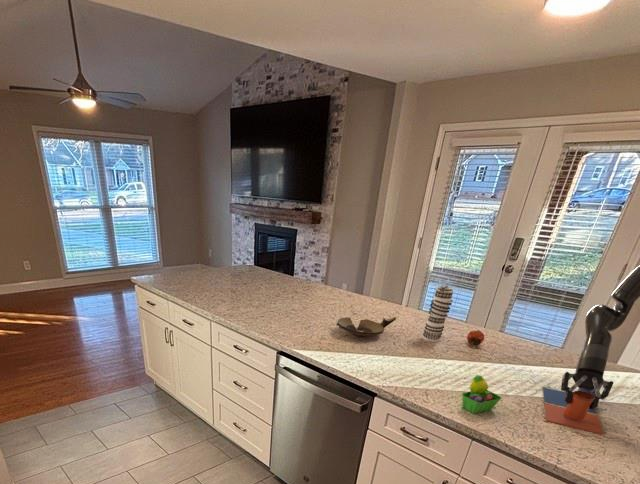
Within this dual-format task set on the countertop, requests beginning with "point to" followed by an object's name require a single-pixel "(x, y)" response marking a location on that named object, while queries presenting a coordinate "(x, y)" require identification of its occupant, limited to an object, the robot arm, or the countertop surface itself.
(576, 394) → the terracotta canister
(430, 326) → the striped cylindrical tower
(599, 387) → the blue canister
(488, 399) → the fruit basket
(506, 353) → the countertop surface
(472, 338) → the pomegranate
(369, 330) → the oil lamp
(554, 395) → the blue mat
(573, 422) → the terracotta mat
